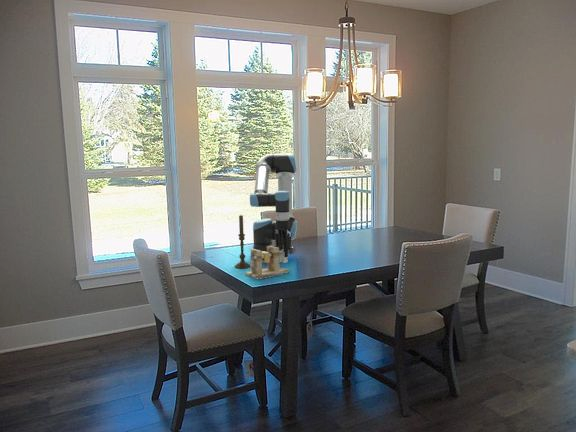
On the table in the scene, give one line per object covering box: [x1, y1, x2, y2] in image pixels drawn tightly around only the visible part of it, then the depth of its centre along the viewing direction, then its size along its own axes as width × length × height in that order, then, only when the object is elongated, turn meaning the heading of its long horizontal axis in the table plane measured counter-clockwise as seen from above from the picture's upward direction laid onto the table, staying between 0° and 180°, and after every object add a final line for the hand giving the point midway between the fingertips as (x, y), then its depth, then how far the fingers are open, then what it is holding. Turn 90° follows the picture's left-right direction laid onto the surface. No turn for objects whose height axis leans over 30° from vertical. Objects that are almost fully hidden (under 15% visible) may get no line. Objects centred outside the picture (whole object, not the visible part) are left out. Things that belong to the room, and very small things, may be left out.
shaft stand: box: [245, 245, 290, 280], centre depth 251 cm, size 12×20×14 cm, turn 129°
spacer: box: [262, 251, 270, 264], centre depth 249 cm, size 5×3×5 cm, turn 39°
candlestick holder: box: [234, 214, 251, 269], centre depth 265 cm, size 9×9×30 cm
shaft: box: [254, 246, 297, 260], centre depth 253 cm, size 4×26×4 cm, turn 129°
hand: (283, 261), depth 258 cm, fingers closed on shaft, 2 cm apart
